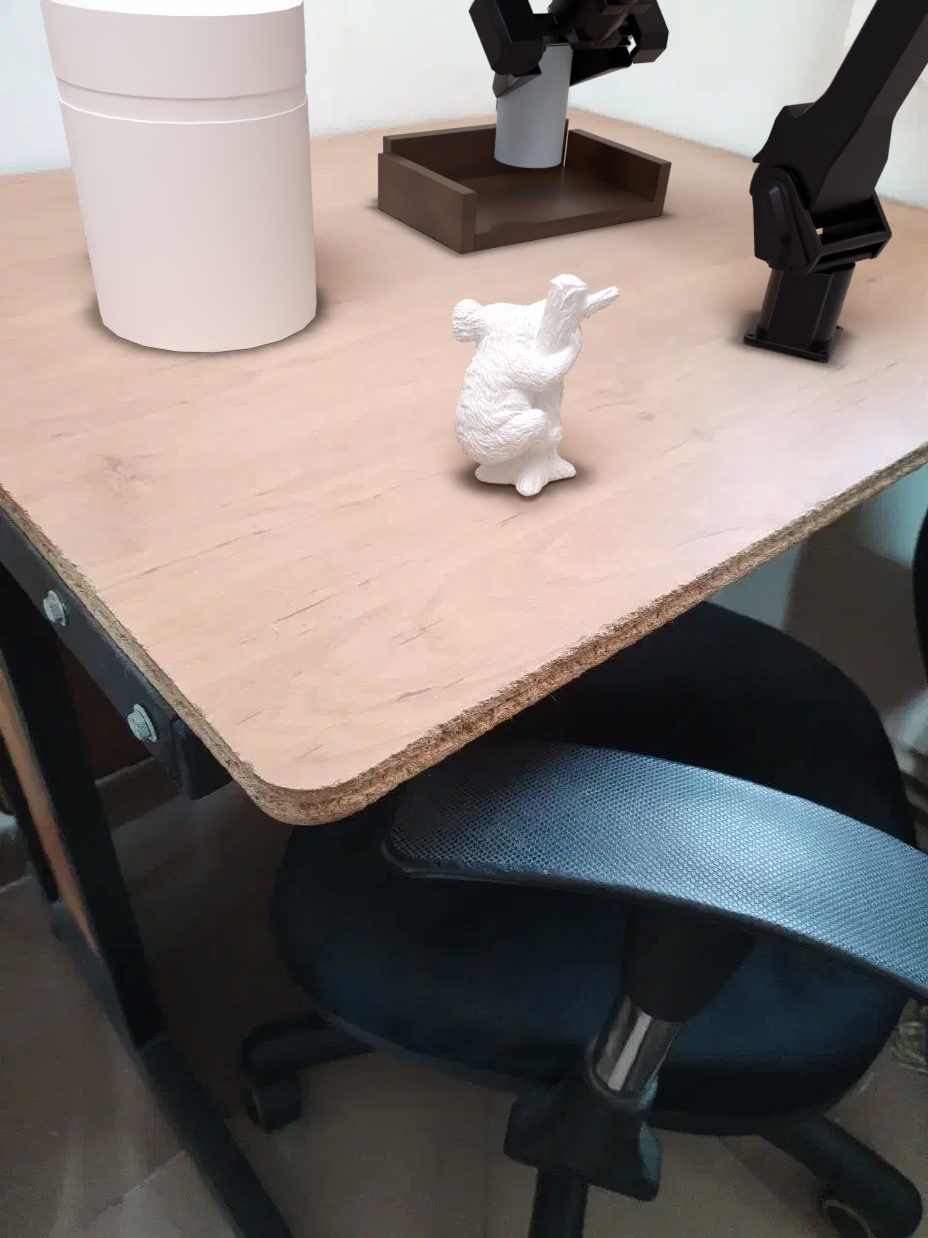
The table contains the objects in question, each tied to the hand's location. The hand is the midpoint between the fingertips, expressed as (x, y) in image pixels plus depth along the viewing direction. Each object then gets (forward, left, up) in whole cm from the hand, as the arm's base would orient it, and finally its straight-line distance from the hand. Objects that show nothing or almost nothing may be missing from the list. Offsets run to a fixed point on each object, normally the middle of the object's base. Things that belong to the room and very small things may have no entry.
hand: (524, 89), depth 89 cm
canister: (-37, +9, -11) cm, 39 cm away
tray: (-1, -1, -10) cm, 11 cm away
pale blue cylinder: (-1, -1, -6) cm, 6 cm away
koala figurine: (-47, -21, -11) cm, 52 cm away
